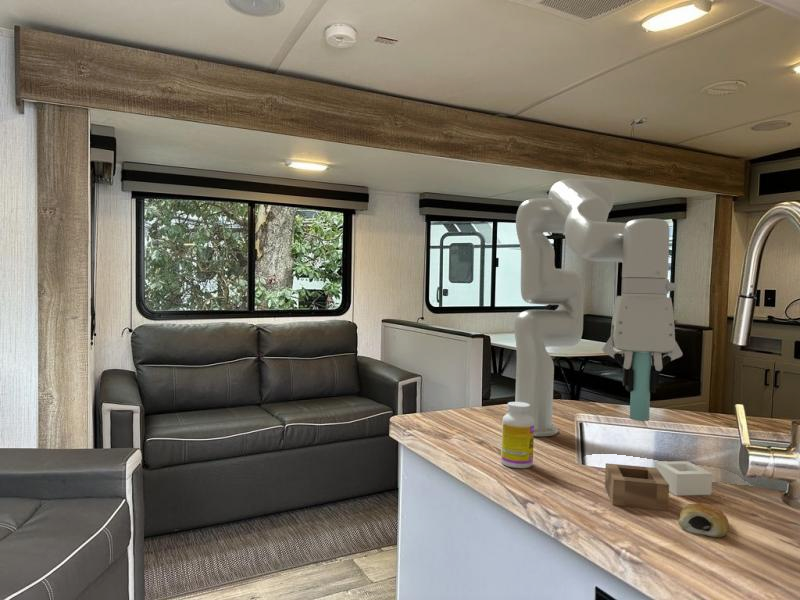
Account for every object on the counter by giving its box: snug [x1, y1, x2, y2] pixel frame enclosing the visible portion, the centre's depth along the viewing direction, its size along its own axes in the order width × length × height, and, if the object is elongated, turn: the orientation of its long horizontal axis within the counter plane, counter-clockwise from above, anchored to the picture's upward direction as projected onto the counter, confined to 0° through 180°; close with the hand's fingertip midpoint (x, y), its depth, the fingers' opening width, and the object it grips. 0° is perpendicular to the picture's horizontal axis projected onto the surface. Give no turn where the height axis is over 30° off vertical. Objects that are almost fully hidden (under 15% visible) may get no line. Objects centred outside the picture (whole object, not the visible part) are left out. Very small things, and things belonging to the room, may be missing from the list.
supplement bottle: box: [500, 401, 535, 469], centre depth 117 cm, size 7×7×13 cm
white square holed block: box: [654, 460, 713, 497], centre depth 106 cm, size 7×7×4 cm
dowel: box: [629, 352, 652, 422], centre depth 99 cm, size 3×3×14 cm
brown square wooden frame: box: [604, 463, 670, 512], centre depth 100 cm, size 9×9×4 cm
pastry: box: [677, 502, 729, 538], centre depth 89 cm, size 9×7×4 cm
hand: (640, 390), depth 99 cm, fingers closed on dowel, 3 cm apart
